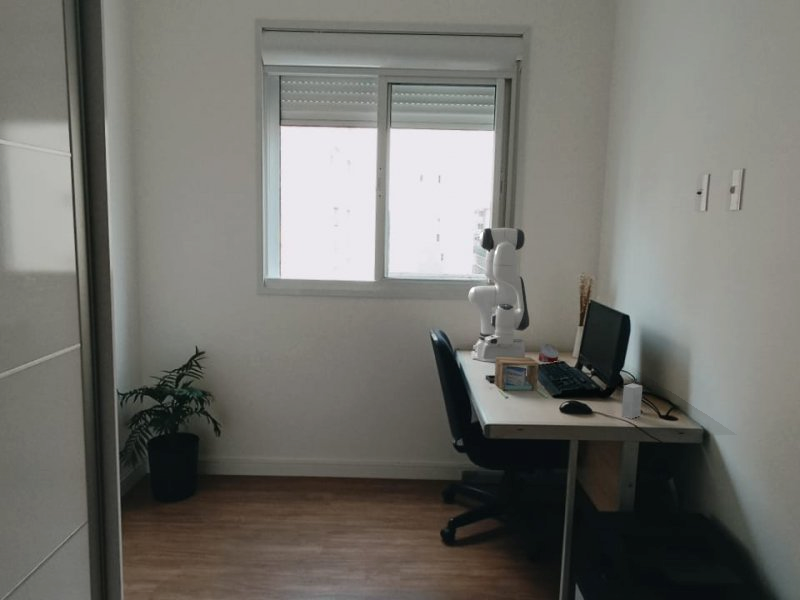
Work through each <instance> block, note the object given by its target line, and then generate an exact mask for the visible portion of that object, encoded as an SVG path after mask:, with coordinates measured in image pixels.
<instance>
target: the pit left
mask: <svg viewBox="0 0 800 600" xmlns="http://www.w3.org/2000/svg"><path fill="white" fill-rule="evenodd" d="M485 380H486V381H487V380H488V381H489V382H490V383H491V384H492V383H493V384H494V383H495V374H493V375H492V374H491V375H490V374H489V375H488V374H487V375H485ZM488 381H487V382H488ZM489 382H488V383H489ZM490 383H489V384H490Z"/></svg>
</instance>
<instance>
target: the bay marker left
mask: <svg viewBox="0 0 800 600" xmlns="http://www.w3.org/2000/svg"><path fill="white" fill-rule="evenodd" d="M498 392H499V393H500V394H501V395H502V397H504V398H505V399H509V396H508V395H507V393H506V392H505V391H502V390H501V389H499V388H498Z"/></svg>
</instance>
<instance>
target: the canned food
mask: <svg viewBox="0 0 800 600" xmlns="http://www.w3.org/2000/svg"><path fill="white" fill-rule="evenodd" d="M540 352H541V353H539V354H538V361H539V362H542V363H546V362H554V361H558V362H559V356H560V354H559V351H558V350H557V349H556V347H555V346H554V345H552V344H550V343H544V344H542V345H541V346H540Z"/></svg>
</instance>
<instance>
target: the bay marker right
mask: <svg viewBox="0 0 800 600" xmlns="http://www.w3.org/2000/svg"><path fill="white" fill-rule="evenodd" d="M537 392H538V393H539V394H540V395H542V396H543V397H544V398H545V399H548V398H549V396H548V395H547V394H546V393H545V391H543V390H541V389H540V388H537Z"/></svg>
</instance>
